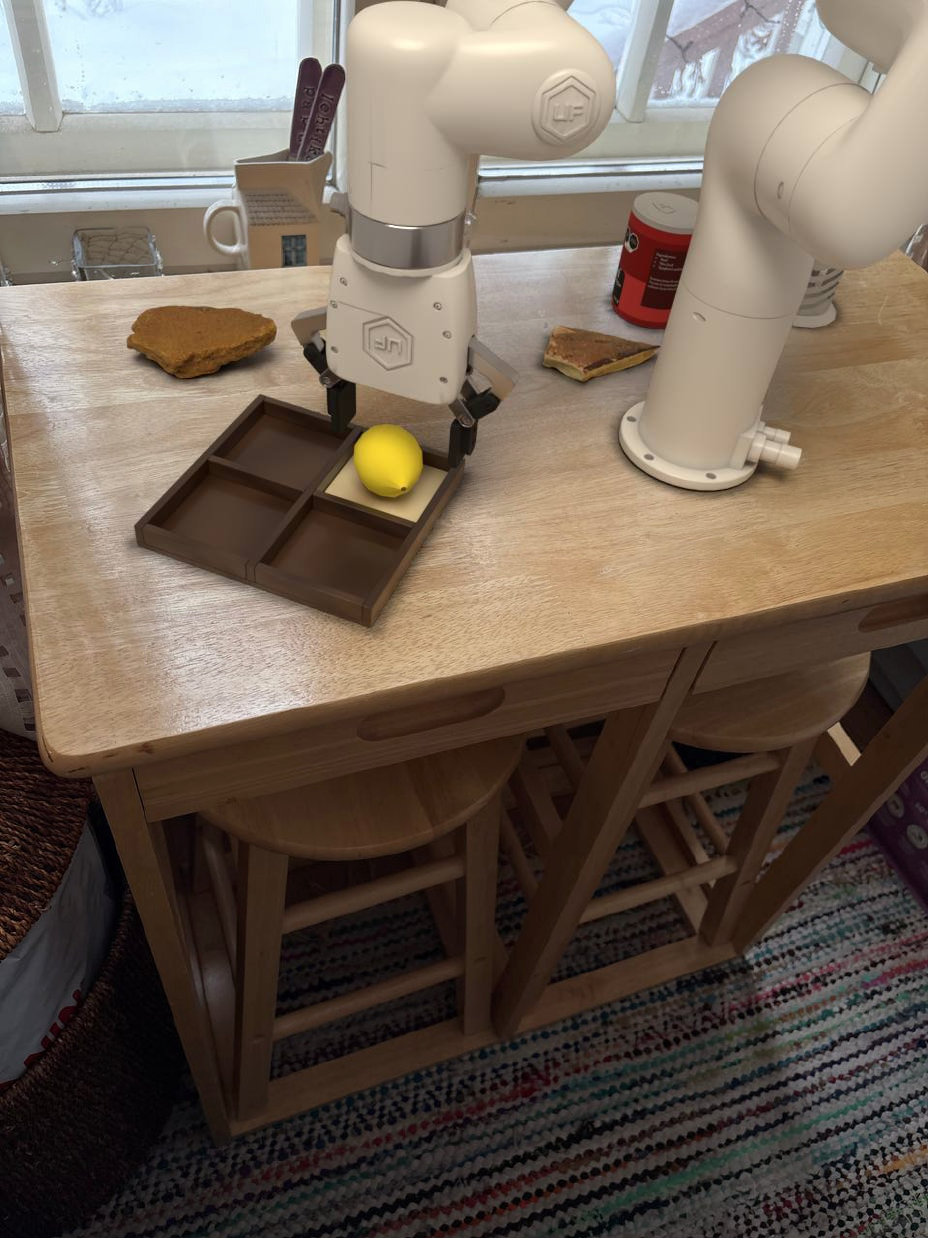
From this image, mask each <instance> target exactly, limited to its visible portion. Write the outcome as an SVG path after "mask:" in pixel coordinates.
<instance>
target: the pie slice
mask: <svg viewBox="0 0 928 1238" xmlns="http://www.w3.org/2000/svg"><path fill="white" fill-rule="evenodd" d="M660 347H661V345H660V344H659V345H658V344H657V345H656V344H652V343H651V344H650V343H646V342H642V341H636V340H635V341H634V340H631V339H626V338H624V337H620V336H615V335H611V334H607V333H602V332H599V331H592V330H587V329H584V328H583V329H581V328H574V327H568V326H564V325H559V326H555V327H553V329H552V331H551V333H550V338H549V342H548V346H547V348H546V349H545V351H544V354H543V355H544V357H543V362H542V365H543V366H544V367H546V368H555V369H556V370H558V371H559V372H560V373H562V374H564V375H565V376H566V377H569V378H571V379H573V380H576V381H579V382H583V383H585V382H586V381H588V380H590V379H591V378H596V377H601V376H603V375H606V374H609V373H615V372H616V373H617V372H619V371H622V370H625V369H628V368H631V367H633V366H635V367H636V366H637V365H640V364H643V363H645V361H647V360H649V359H651V358H652V357H653V356H654V355H655V352H656V351H657V350H660Z"/></svg>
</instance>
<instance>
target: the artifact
mask: <svg viewBox="0 0 928 1238" xmlns="http://www.w3.org/2000/svg"><path fill="white" fill-rule="evenodd" d="M130 328H131V331H132V332H133V333H131V334H129V335H128V336H127V338H126V348H127V349H129V350H135V351H136V352H139V353H142V354H144V355H145V356H146V358H147V359H148V360H153V361H154V362H157V363H158V365H160V366H161V367H162V368H163V370H164V371H165V372H167V373H169V374H171V376H172V375H173V376H175V377H176V378H179V379H189V378H195V377H198V376H201V375H206V374H207V375H209V374H213V373H216V372H218V371H219V369H220V368H221V367H222V366H225V365H226V364H229V363H230V362H232V361H234V362H237V361H240V360H241V359H243V358H245V357H251V356H252V355H253V354H257V353H258V352H259V351H260V350H262V349H264V348H265V347H267V346H270V345H271V343H273V342H274V341H275V340H276V336H277V332H278V327H277V325H276V323H275V321H274V319H272V318H270V317H265V316H263V315H262V313H254V312H250V311H245V310H243V309H242V308H238V307H223V308H222V307H213V306H207V305H202V306H201V305H199V306H197V305H195V306H191V305H165V306H158V307H153V308H148V309H146V310H145V311H143V312H141V313H140V314H139V315H138V316H137V317H136V320H135V321H134V322H133V323H132V325H131V327H130Z"/></svg>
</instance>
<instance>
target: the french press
mask: <svg viewBox="0 0 928 1238" xmlns="http://www.w3.org/2000/svg"><path fill="white" fill-rule="evenodd" d="M871 71H872V72H874V73H876V74H878V75H877V78H876V81H875V83H874V86H873V89H872V90H871V91H872V92H871V94H873V95H875V93H876V91H877V87H878V84H879V83H880V79H881V77H882V75H885V76H886V75H887V73H888V72H886V71H885V70H883V69H881V68H880V67H878V66H876V65H875V64H873V65H872V67H871ZM821 271H826V273H825V274H824V275H820V274H821ZM844 273H845V270H838V269H834V268H831V267H828V266H826V265H824V264H822V263H820V262H819V261H817V260H816V259H815V258H814V264H813V269H812V273H811V277H810V280H809V283H808V286H807V289H806V292H805V295H804V297H803V300H802V302H801V305H800V307H799V309H798V312H797V314H796V317H795V319H794V322H793V325H792V327H796V328H811V329H814V328H820V327H825V326H828V325H830V324H831V323H832V322H833V321H835V320H836V315H837V310H836V308H835V306H834V304H833V300H834V297H835V296H836V291H837V290H838V288H839V285H840V283H841V282H840V280H842V279H843V275H844ZM816 283H821V285H820V286H816Z"/></svg>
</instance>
